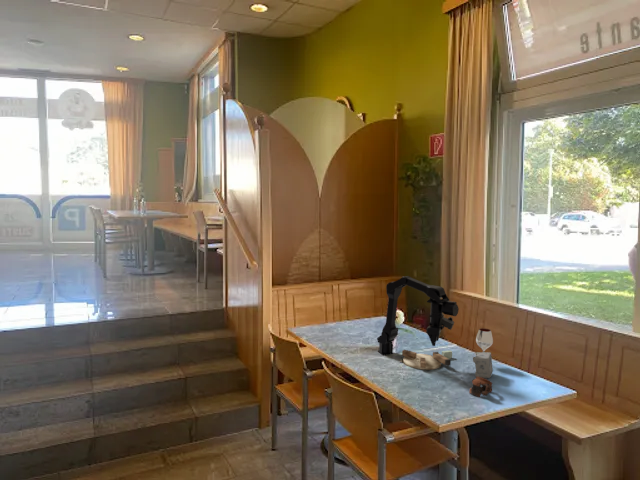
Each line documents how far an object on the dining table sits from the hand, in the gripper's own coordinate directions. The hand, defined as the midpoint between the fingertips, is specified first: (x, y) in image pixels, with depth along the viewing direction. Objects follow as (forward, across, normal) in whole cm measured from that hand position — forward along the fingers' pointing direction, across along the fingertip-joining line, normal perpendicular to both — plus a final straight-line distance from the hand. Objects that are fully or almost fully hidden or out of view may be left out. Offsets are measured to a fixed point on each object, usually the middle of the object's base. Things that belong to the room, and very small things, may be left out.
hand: (435, 343), depth 237 cm
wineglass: (+13, +16, -22) cm, 30 cm away
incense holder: (+13, 0, -23) cm, 26 cm away
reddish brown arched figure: (+13, -23, -24) cm, 36 cm away
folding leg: (+11, +6, -2) cm, 12 cm away
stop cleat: (+12, +17, -4) cm, 21 cm away
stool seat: (+12, +4, +7) cm, 15 cm away
